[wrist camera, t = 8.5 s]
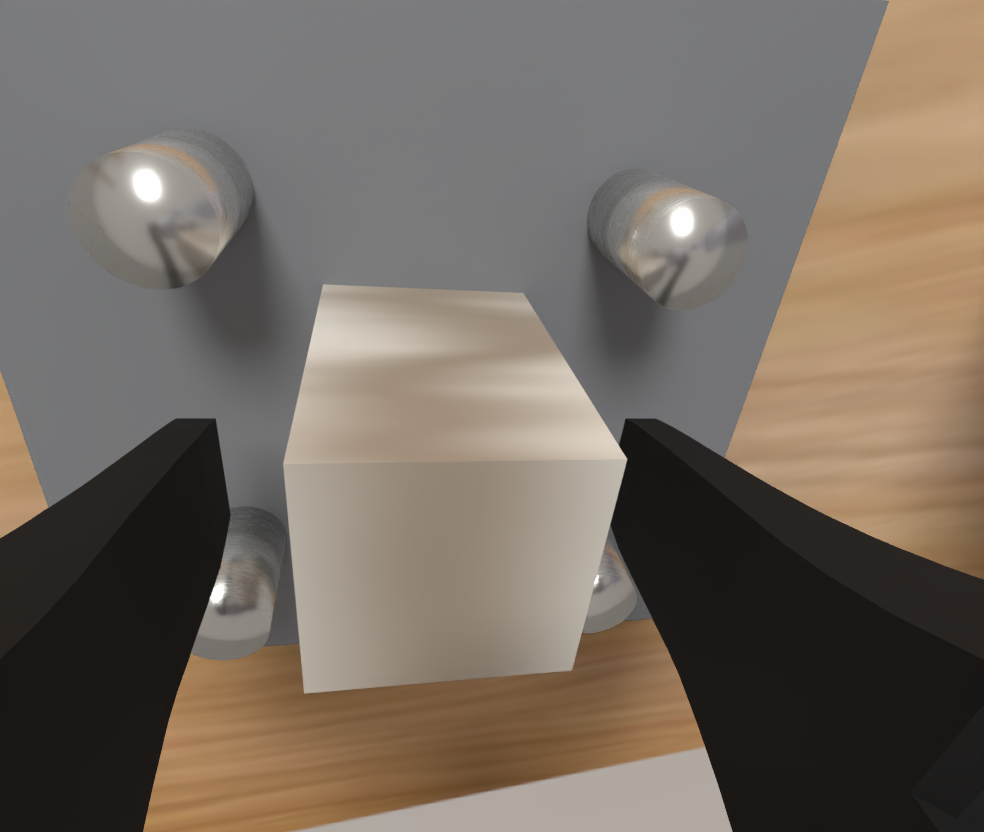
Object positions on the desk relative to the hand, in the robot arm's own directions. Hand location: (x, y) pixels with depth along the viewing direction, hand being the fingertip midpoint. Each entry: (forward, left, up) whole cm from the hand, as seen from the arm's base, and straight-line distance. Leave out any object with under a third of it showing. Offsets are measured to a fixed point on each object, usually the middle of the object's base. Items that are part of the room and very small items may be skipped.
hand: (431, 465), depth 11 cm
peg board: (0, 0, -4) cm, 4 cm away
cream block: (0, 0, -3) cm, 3 cm away
